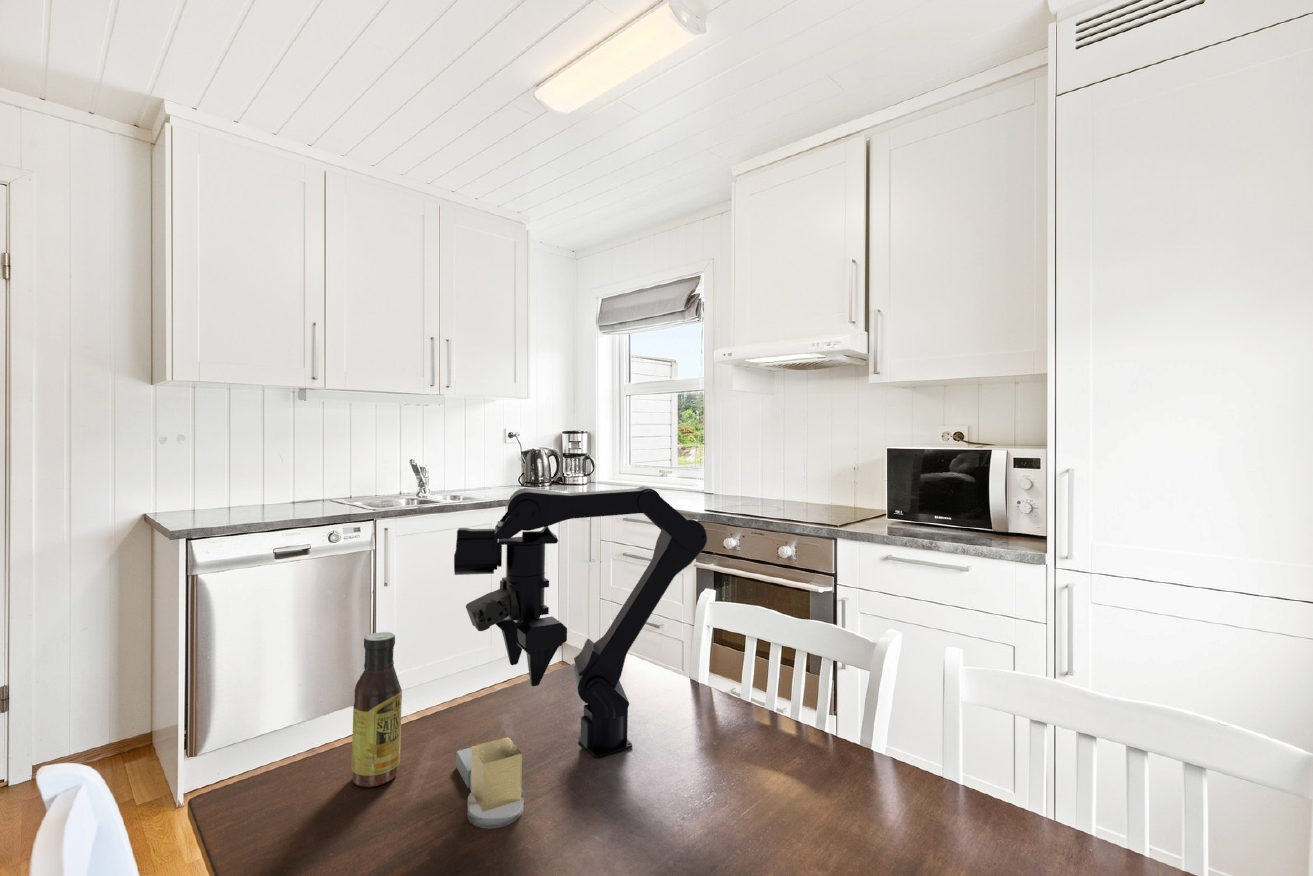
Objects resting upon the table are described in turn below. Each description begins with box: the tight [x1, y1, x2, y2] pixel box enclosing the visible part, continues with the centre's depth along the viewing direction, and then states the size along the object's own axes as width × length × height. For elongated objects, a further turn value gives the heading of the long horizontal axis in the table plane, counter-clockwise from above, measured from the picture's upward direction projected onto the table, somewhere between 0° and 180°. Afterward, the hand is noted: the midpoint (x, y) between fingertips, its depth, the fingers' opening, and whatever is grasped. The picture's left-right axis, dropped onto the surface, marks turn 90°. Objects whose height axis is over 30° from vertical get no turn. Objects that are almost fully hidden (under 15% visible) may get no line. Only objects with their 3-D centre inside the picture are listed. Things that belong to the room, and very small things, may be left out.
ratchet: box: [455, 746, 525, 830], centre depth 85 cm, size 16×7×6 cm, turn 32°
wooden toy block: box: [470, 736, 523, 812], centre depth 81 cm, size 5×5×6 cm
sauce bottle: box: [350, 631, 403, 788], centre depth 88 cm, size 7×6×20 cm
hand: (523, 674), depth 95 cm, fingers open, 9 cm apart
